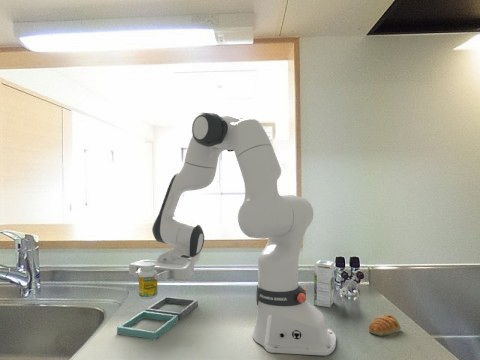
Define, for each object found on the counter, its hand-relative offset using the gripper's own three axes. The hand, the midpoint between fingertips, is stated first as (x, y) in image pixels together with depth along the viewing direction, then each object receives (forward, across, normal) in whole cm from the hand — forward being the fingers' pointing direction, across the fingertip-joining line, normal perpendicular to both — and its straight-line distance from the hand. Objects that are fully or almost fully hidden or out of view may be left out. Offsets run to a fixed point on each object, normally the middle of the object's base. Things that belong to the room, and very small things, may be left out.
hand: (146, 276), depth 102 cm
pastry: (-19, +66, +15) cm, 71 cm away
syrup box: (-35, +48, +15) cm, 62 cm away
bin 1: (-1, 0, +15) cm, 15 cm away
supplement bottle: (-1, 0, +6) cm, 6 cm away
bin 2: (-15, 0, +15) cm, 21 cm away
